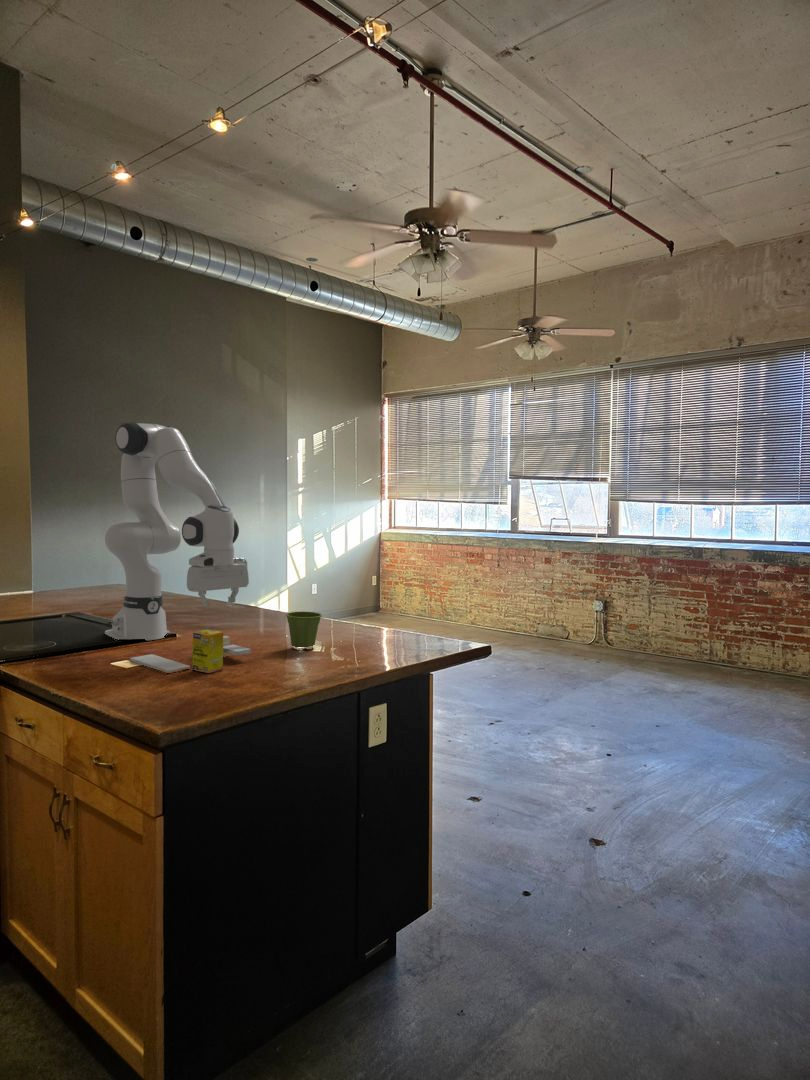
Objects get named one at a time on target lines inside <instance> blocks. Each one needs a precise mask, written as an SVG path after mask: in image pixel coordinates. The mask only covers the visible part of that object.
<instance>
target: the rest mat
mask: <svg viewBox="0 0 810 1080" xmlns="http://www.w3.org/2000/svg"><path fill="white" fill-rule="evenodd" d="M130 661H132V662H131V663H133V662H135V663H134V664H136V663H138V664H137V665H139V664H141V665H140V666H142V665H144V666H143V667H145V666H148V667H151V668H154V669H157V670H161V671H164V672H167V673H168V672H173V671H177V670H181V669H185V668H190V669H191V665H187V664H185V663H181V662H178V661H175V660H172V659H169V658H165V657H163V656H159V655H156V654H153V653H151V654H145V655H139V656H133V657H130V658H129V662H130ZM148 667H147V668H148ZM151 668H150V669H151ZM154 669H153V670H154ZM157 670H156V671H157Z"/></svg>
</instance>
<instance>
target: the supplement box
mask: <svg viewBox="0 0 810 1080" xmlns="http://www.w3.org/2000/svg"><path fill="white" fill-rule="evenodd" d="M223 635H225V634H224V631H218V630H213V629H212V630H211V629H204V630H198V631H195V632H193V633H192V670H193V669H197V670H204V671H211V670H214V669H217V668H220V667H223V668H224V658H223Z"/></svg>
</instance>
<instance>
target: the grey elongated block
mask: <svg viewBox="0 0 810 1080" xmlns="http://www.w3.org/2000/svg"><path fill="white" fill-rule="evenodd" d="M230 641H231V637H230V636H228V635H225V634H223V655H226V654H230V655H233V656H242V655H247V654H251V653H252V649H251V648H248V647H244V646H241V645H240V646H239V645H238V644H234V643H232V644H231V643H230Z"/></svg>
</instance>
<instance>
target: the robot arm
mask: <svg viewBox="0 0 810 1080" xmlns="http://www.w3.org/2000/svg"><path fill="white" fill-rule="evenodd" d="M114 439H115V444H116V447H117V449H118V450H119V452H121V453H122V456H121V462H120V482H121V483H120V485H121V492H122V493H121V495H122V504H123V505H124V507H125V508H126V509H127V510H129V511H130V512H131V513H134V514H135V515H136V516H137V518H138V520H139V521H133V522H131V521H129V522H127V521H125V522H121V523H116V524H113V525H111V526H109V527H108V529H107V531H106V532H105V535H104V542H105V546H106V548H107V550H108V551H109V552H110V553H111V554H113V555H114V556H115V557H116V558H117V559H118V560H119V562H120V563H121V564H122V567H123V571H124V575H125V587H126V588H125V589H126V591H125V592H126V595H125V596H123V597H122V598H123V599H122V600H123V604H122V605H123V606H122V608H120V610H119V611H118V612H117V613H116V614H115V615H113V617H112V619H111V621H110V623H111V626H112V627H111V629H107V630H105V631H104V634H105V635H107V637H110V638H111V637H112V639H113V638H114V639H113V640H115V639H118V640H119V639H145V640H146V641H152V640H153V641H155V640H160V639H164V638H165V637H164V636H165V635H166V634H167V633H169V634H170V630H168V629H167V628H168V627H167V619H166V618H167V617H166V611H165V610H164V609H163V607H162V606H163V604H164V603H163V602H164V599H163V595H162V574H161V571H160V570H159V569H158V568H156V567H155V566H153V565H151V564H150V563H149V560H148V555H164V554H168V553H170V552H174V551H176V550H178V548H179V546H180V544H181V542H182V538H183V540H184V542H185V543H186V545H188V546H189V547H191V546H192V547H197V548H198V547H203V552H201V553H200V554H197V555H195V556H191V557H190V558H189V559H188V565H189V568H188V570H187V574H186V588H187V590H188V591H190V592H192V593H197V595H198V596H199V598H200V599H201V606H203V607H206V606H207V607H208V606H210V599H207V597H206V595H207V592H209V591H216V590H217V591H219V590H226V589H228V590H230V591H231V593H230V596H228V597H227V599H228V600H227V603H230V604H232V603H233V604H234V603H236V597H237V595H238V594H239V588H240V589H241V588H246V587H248V586H249V584H250V582H249V580H250V579H249V570H248V561H247V560H246V559H245V558H244V557H235V546H234V543H235V542H236V541H237V539H238V537H239V533H240V527H239V525H238V521H237V520H236V519H235V517H234V515H233V514H234V513H233V511H232V509H231V508H230V507H228V506H226V504H225V502H224V501H223V499H222V497H221V495H220V493H219V491H218V490H217V488H216V486H215V484H214V482H213V481H212V480H211V478H210V476H208V474H207V473H206V472H204V471H203V470H202V469H201V467H200V466H199V465H198V463H197V461H196V460H195V458H194V456H193V454H192V451H191V449H190V446H189V444H188V442H187V441H186V439H185V437H184V436H183V434H182V433H181V431H180V430H179V429H177V428H174V427H172V426H168V425H167V426H165V425H161V424H157V423H144V422H143V423H139V422H137V423H136V422H133V421H131V422H130V421H129V422H125V423H122V424H121V425H119V426H118V428H117V430H116V433H115V438H114ZM156 464H157V467H158V469H159V472H160V474H161V476H162V477H163V480H164V481H165V482H166V483H167V484H169V485H171V486H173V487H175V488H178V489H182V490H184V491H187V492H189V493H191V494H193V495H195V496H196V497H198V498H199V499H200V500H201V502H202V504H203V505H204V510H203V511H201V512H199V513H197V514H194V515H192V516H189V517H187V518H186V519H185V520H184V522H183V523H182V525H181V526H182V527H181V530H180V529H179V527H178V525H176V524H174V523H173V522H172V521H170V520H169V518H168V517H167V516H166V514H165V513H164V510H163V509H162V507H161V504H160V500H159V495H158V487H157V485H158V484H157V477H156V471H155V468H156V467H155V466H156ZM167 635H168V634H167ZM167 635H166V636H167Z"/></svg>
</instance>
